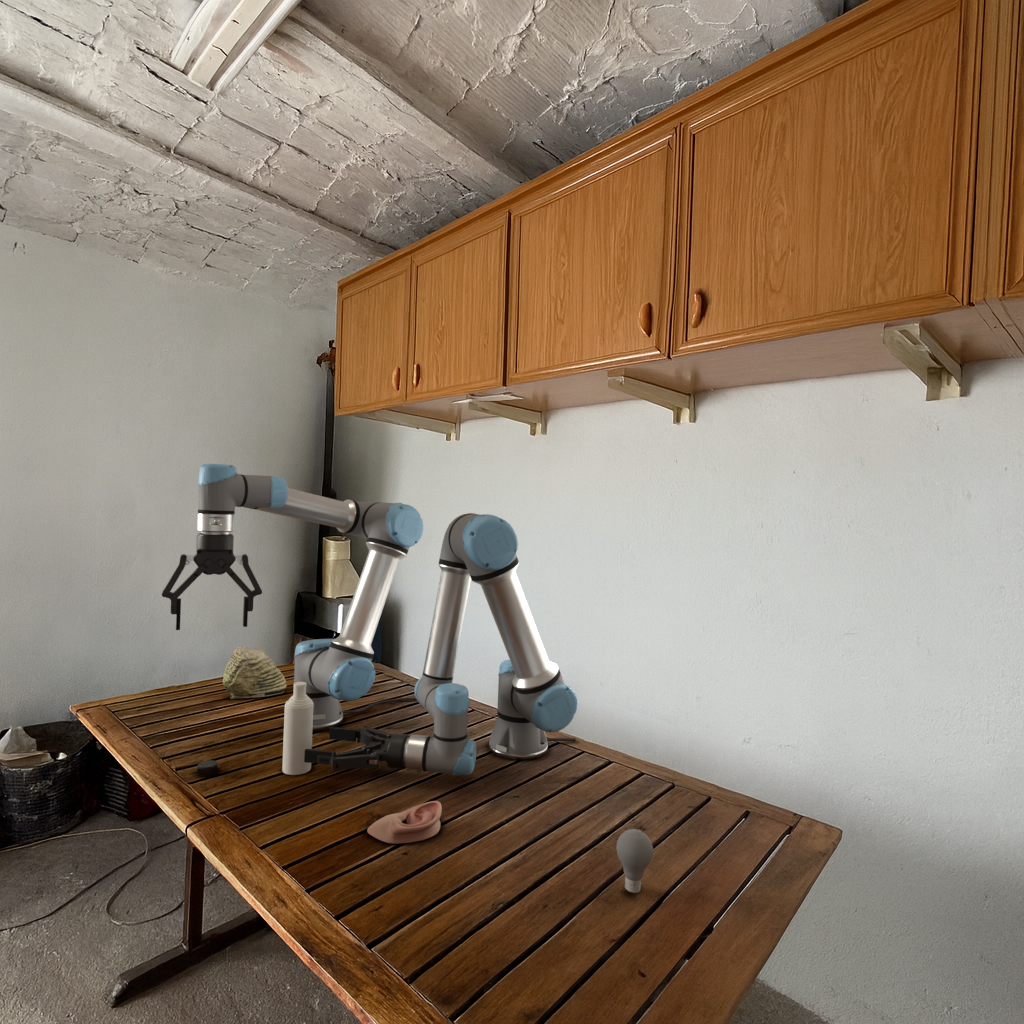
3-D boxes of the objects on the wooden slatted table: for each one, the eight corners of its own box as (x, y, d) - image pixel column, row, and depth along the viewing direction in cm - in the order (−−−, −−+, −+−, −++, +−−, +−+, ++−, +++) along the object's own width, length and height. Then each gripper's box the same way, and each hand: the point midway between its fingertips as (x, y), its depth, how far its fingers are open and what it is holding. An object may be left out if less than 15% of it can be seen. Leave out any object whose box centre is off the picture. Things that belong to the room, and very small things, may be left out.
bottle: (303, 776, 143) (306, 688, 143) (277, 773, 144) (280, 686, 144) (315, 765, 149) (319, 680, 149) (290, 762, 150) (293, 678, 150)
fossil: (218, 695, 195) (220, 647, 195) (278, 685, 208) (279, 640, 207) (228, 703, 189) (230, 653, 188) (289, 692, 201) (290, 645, 201)
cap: (217, 768, 145) (218, 759, 145) (215, 775, 141) (216, 766, 141) (198, 769, 144) (198, 761, 144) (195, 777, 140) (196, 768, 140)
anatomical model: (360, 817, 118) (385, 790, 129) (359, 839, 118) (384, 809, 129) (428, 828, 115) (447, 799, 126) (427, 850, 115) (446, 819, 126)
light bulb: (610, 879, 108) (613, 822, 108) (644, 879, 109) (647, 822, 109) (619, 902, 102) (622, 840, 102) (655, 901, 103) (658, 840, 103)
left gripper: (150, 533, 133) (147, 633, 133) (276, 534, 144) (273, 627, 144) (152, 530, 139) (149, 626, 140) (272, 532, 151) (269, 621, 151)
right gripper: (390, 793, 131) (292, 783, 134) (421, 747, 156) (338, 739, 158) (391, 757, 131) (294, 748, 134) (422, 717, 156) (339, 710, 158)
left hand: (212, 627), depth 142 cm, fingers open, 13 cm apart
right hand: (317, 743), depth 146 cm, fingers open, 13 cm apart
